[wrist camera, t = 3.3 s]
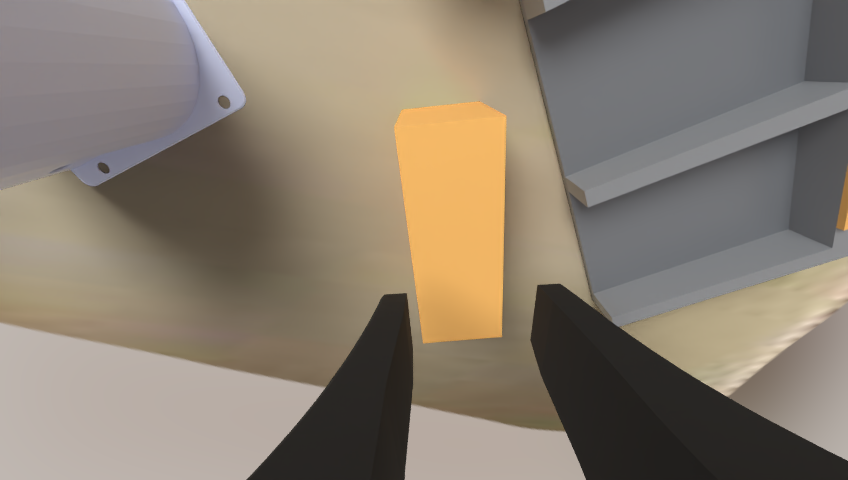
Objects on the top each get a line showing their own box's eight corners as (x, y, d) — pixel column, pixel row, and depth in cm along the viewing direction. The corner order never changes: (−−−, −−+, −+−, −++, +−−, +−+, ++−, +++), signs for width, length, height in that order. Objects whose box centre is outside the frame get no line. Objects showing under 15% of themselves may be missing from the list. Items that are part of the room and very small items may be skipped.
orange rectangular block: (481, 272, 18) (501, 336, 14) (422, 277, 18) (423, 343, 14) (479, 101, 14) (506, 115, 10) (402, 109, 14) (394, 127, 10)
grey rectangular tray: (592, 299, 19) (617, 332, 17) (518, -2, 12) (542, -19, 10) (796, 232, 17) (857, 258, 15) (844, -170, 10) (971, -240, 8)
